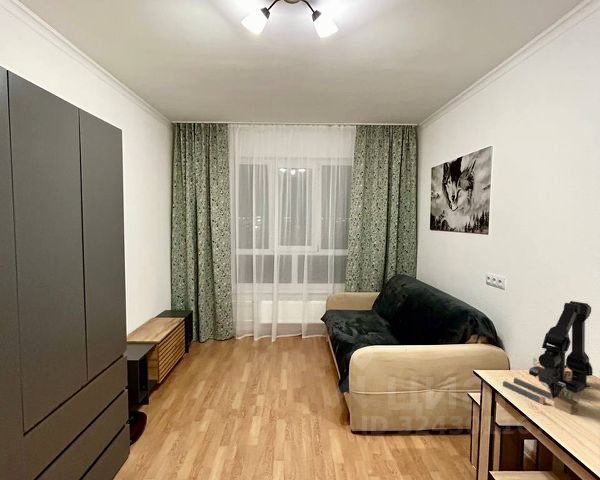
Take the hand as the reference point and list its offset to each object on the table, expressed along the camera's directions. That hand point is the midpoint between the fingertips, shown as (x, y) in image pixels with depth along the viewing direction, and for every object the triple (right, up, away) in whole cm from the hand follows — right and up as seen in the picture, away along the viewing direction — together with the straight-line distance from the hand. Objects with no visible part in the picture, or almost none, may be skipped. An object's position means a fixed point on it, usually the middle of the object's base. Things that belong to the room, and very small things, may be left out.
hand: (554, 398), depth 148 cm
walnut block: (+2, -3, -3) cm, 5 cm away
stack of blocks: (+10, -2, +16) cm, 19 cm away
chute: (-4, -2, +10) cm, 11 cm away
